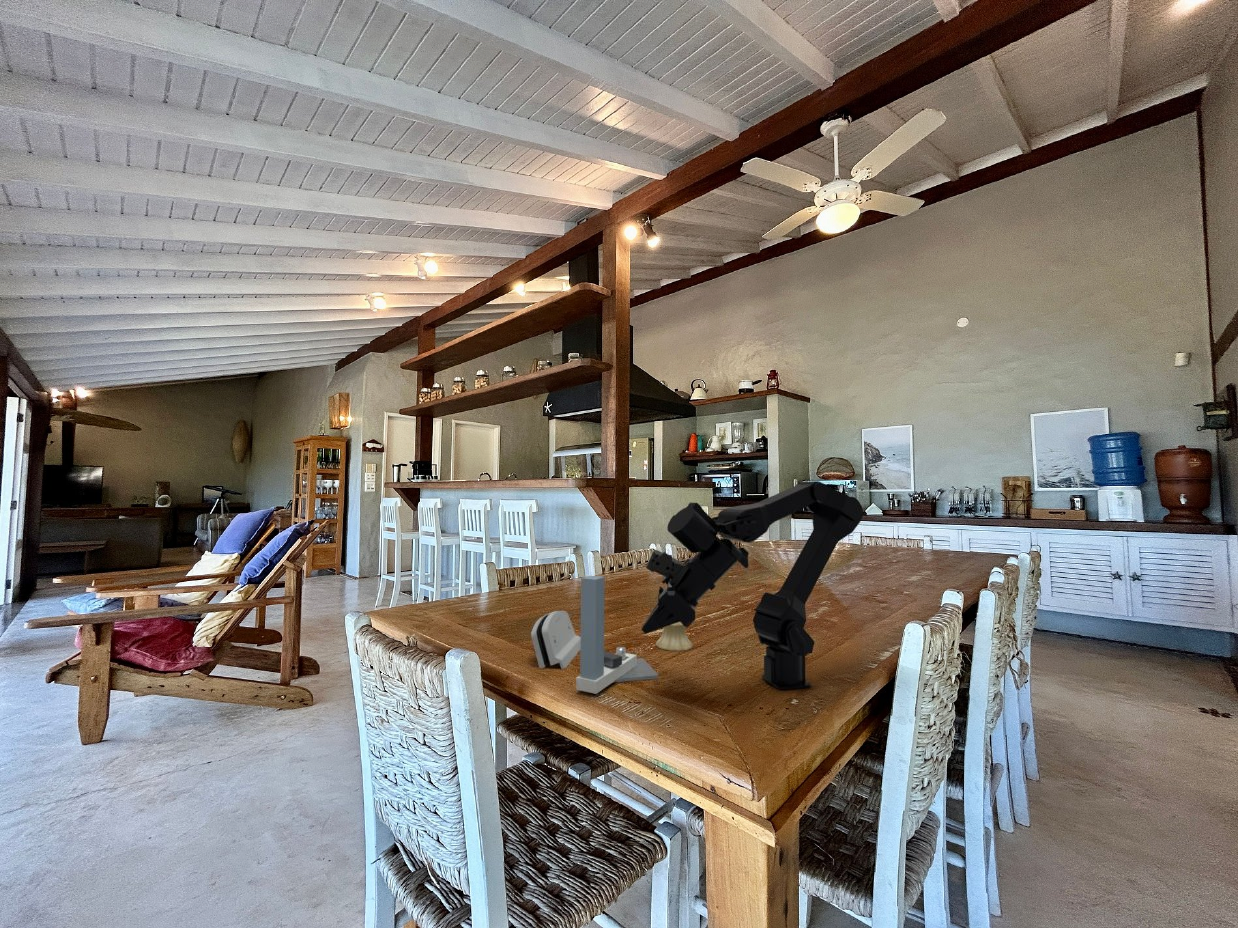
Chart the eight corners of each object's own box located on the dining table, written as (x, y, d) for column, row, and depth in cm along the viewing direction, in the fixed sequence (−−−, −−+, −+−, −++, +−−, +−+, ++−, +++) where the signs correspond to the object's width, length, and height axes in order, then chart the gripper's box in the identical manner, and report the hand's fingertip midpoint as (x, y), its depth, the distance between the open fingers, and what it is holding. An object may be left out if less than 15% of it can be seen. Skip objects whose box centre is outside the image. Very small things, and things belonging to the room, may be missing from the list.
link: (618, 661, 102) (619, 566, 103) (636, 665, 101) (637, 567, 102) (576, 689, 88) (577, 578, 89) (596, 693, 86) (597, 580, 87)
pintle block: (642, 660, 105) (642, 638, 105) (660, 680, 95) (660, 655, 95) (582, 665, 102) (582, 642, 102) (593, 686, 91) (593, 660, 92)
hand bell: (699, 645, 116) (699, 574, 117) (677, 653, 110) (677, 578, 111) (670, 638, 122) (670, 570, 123) (648, 645, 116) (648, 574, 117)
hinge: (563, 669, 100) (547, 620, 101) (541, 676, 100) (525, 627, 102) (584, 644, 116) (570, 601, 117) (565, 650, 117) (551, 608, 118)
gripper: (673, 529, 99) (617, 586, 99) (673, 539, 80) (603, 609, 81) (715, 571, 97) (658, 628, 98) (724, 591, 79) (653, 661, 80)
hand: (643, 630), depth 89 cm, fingers closed
